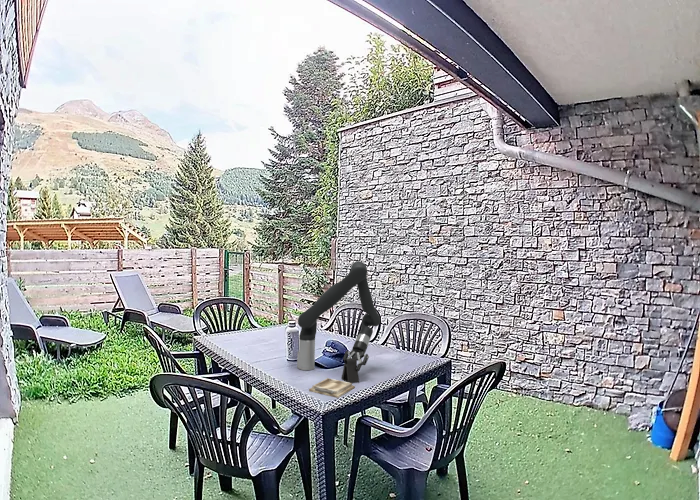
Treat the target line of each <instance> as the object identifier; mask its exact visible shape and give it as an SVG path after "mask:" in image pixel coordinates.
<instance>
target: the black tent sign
mask: <svg viewBox="0 0 700 500" xmlns="http://www.w3.org/2000/svg"><path fill="white" fill-rule="evenodd" d="M357 363H358V361H357V359H356V358H352V357H351V359H345V361H344V364H345V365H344V364H343V369H342V375H341V379H340V380H341V381H344V382H349V383H352V384H357V383H360V379H359V378H360V377H359V371H358V372H357V371H356V368H357V365H358V364H357Z"/></svg>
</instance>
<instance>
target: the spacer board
mask: <svg viewBox="0 0 700 500" xmlns="http://www.w3.org/2000/svg"><path fill="white" fill-rule="evenodd" d="M355 387H356V385H353V383H349V382H346V381H344V380H338V379H335V378H330V377H327V378H325V379H323V380H321V381H319V382H318V383H315V384H313V385H312V386H311V387H310V388H308V391H309V392H311V393H315V394H316V393H317V394H318V395H319V394H320V395H325V396H329V397H333V398H335V399H336V398H337V399H338V398H340V397H342V396H344V395H346V394H347V393H349V392H350V391H352V390H353V389H355Z"/></svg>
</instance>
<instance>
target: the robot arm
mask: <svg viewBox="0 0 700 500" xmlns="http://www.w3.org/2000/svg"><path fill="white" fill-rule="evenodd" d="M355 286H357V290H358V295H359V301H360V305H361V309H362V311H363V312H364V313H366V314H364V315H363V316H362V319H361V325H360V330H359V332H358V335H357V337H356V339H355V341H354V344H353V347H352V349H351V350H350V351H349V350H345V353H344V355H343V357H342V358H343V359H342V360H343V361H344V362H345V359H351V358H356V359H357V362H358V364H357V368H356V371H357V372H358V373H359V371H360V370H361V368H362V366H366V364H367V362H368V360H369V358H370V356H369V354H368V353H366V351H367V349H368V347H369V344H370V341H371V339H372V335H373V333H374V332H373V329H372V328H371V327H378V326H379V325H380V324H381V316H380V314H379V312H378V311H377V309H376V307H375V304H374V301H373V296H372V294H371V293H372V292H371V289H370V287H369V283H368V268H367V265H366V264H365V263H364V262H363V261H361V260H357V261H354V262H353V263H352V265H351V266H350V271H349V272H348V274H347V275H345V277H344V278H343V279H342V280H340V281H338V282H336V283H335V284H333V285H331V286H330V287H329V288H328V289H326V291H324V292H323V293H322V294H321V296H319V298H318V299H316V301H315V302H314V303H313V304H312V305H311V306H310V307H309V308H308V309H306V310H305V311H303V312H302V313H300V315H299V316H298V319H297V324H298V326H299V327H300V328H301V329H300V332H299V335H298V336H299V337H298V338H299V340H298V351H297V358H296V359H297V360H296V363H297V364H296V365H297V366H296V368H297V369H298V370H302V371H312V370H314V369H315V360H316V357H315V356H316V335H317V329H318V327H317V326H318V319H319V317H320V316H321V315H323V314H324V313H326V312H327V311H329V310H330V309H332V308H333V307H334V306H335V305H337V304H338V302H340V301H341V300H342V299H343V298H344V297H345V296H346V295H347V294H348V293H349V292H350V291H351V289H353V288H354V287H355ZM362 359H363V360H362ZM344 365H345V363H344V364H343V366H344Z"/></svg>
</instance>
